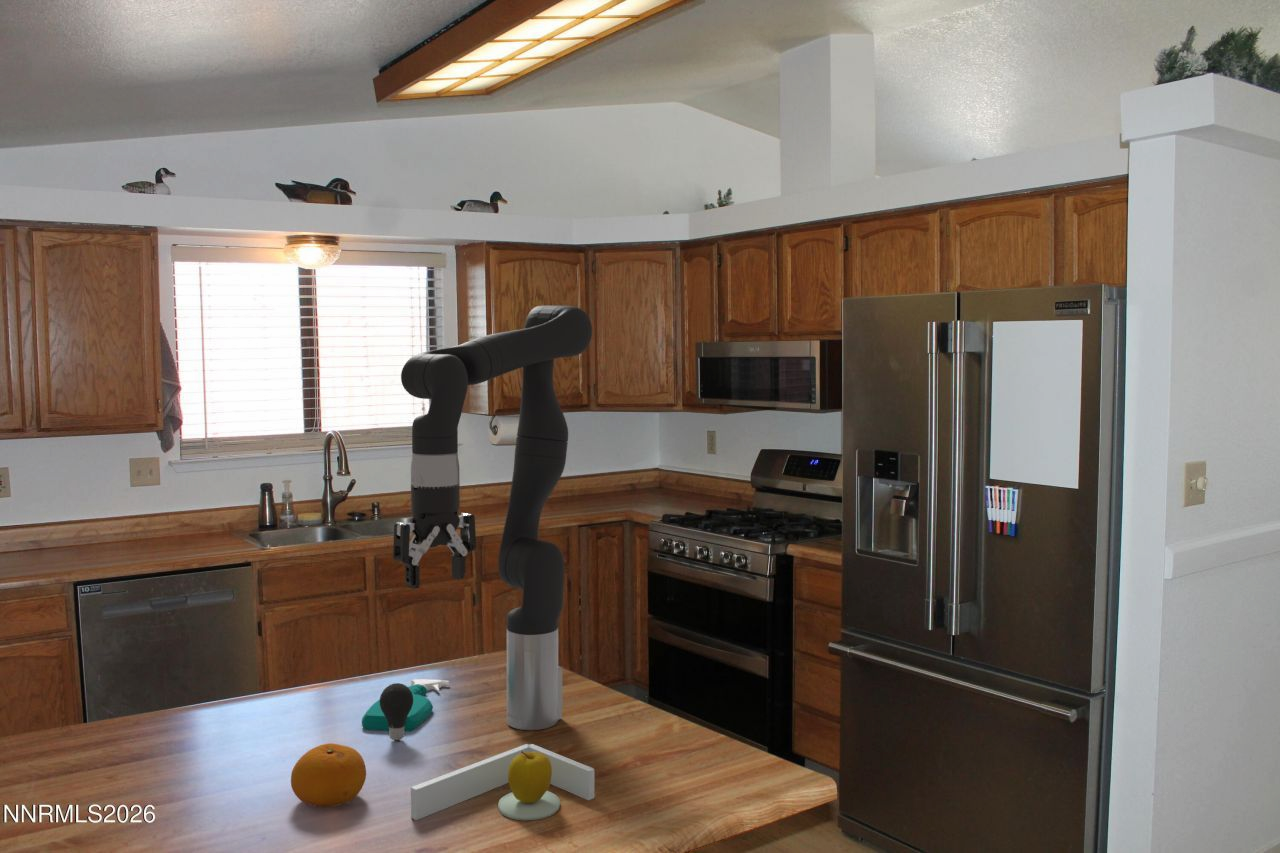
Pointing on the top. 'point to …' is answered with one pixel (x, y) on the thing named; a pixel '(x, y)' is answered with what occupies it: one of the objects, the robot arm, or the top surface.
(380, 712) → the spray bottle
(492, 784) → the grey corner wall
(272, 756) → the top surface
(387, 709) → the light bulb
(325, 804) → the fruit
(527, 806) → the pad
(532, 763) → the apple
